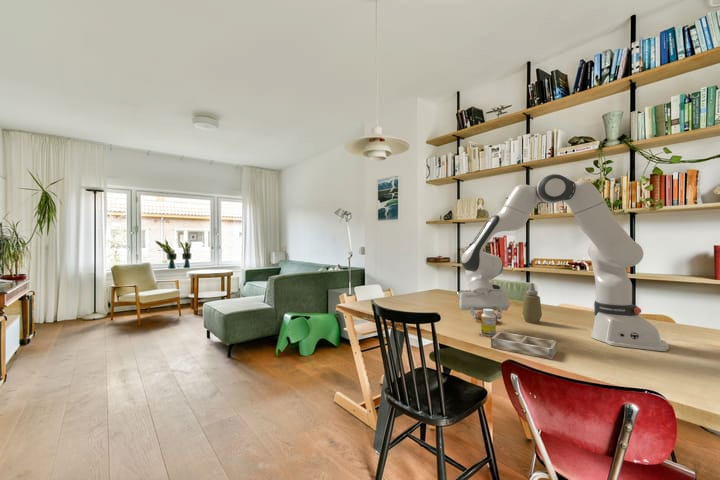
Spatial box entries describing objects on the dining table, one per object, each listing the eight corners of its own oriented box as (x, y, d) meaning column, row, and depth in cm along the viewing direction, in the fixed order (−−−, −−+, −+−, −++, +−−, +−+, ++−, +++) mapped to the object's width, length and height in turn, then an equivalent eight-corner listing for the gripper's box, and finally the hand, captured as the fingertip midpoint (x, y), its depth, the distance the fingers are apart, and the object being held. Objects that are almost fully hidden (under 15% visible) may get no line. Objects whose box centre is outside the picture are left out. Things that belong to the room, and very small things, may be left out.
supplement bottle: (484, 331, 136) (484, 307, 136) (497, 334, 132) (497, 309, 132) (479, 334, 132) (479, 309, 132) (493, 337, 128) (493, 311, 128)
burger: (502, 323, 149) (501, 313, 149) (485, 325, 146) (485, 315, 146) (487, 318, 158) (487, 309, 158) (471, 320, 155) (471, 310, 155)
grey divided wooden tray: (556, 350, 113) (556, 341, 113) (552, 359, 105) (552, 349, 105) (499, 340, 125) (499, 331, 125) (490, 347, 117) (490, 338, 117)
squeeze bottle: (545, 324, 147) (545, 284, 146) (527, 324, 147) (527, 284, 147) (536, 319, 155) (536, 282, 155) (519, 319, 155) (519, 282, 155)
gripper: (457, 286, 141) (463, 313, 131) (505, 286, 139) (515, 314, 130) (455, 294, 145) (460, 322, 136) (501, 294, 144) (510, 322, 134)
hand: (487, 318), depth 133 cm, fingers open, 8 cm apart
